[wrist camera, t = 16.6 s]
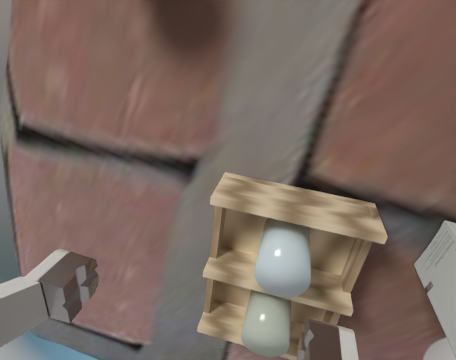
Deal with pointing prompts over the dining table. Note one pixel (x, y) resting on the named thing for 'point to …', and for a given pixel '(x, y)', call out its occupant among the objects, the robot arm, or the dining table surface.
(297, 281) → the pale blue-grey rounded dome
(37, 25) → the dining table surface
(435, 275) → the skincare box
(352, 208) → the rack
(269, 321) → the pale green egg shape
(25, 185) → the dining table surface
